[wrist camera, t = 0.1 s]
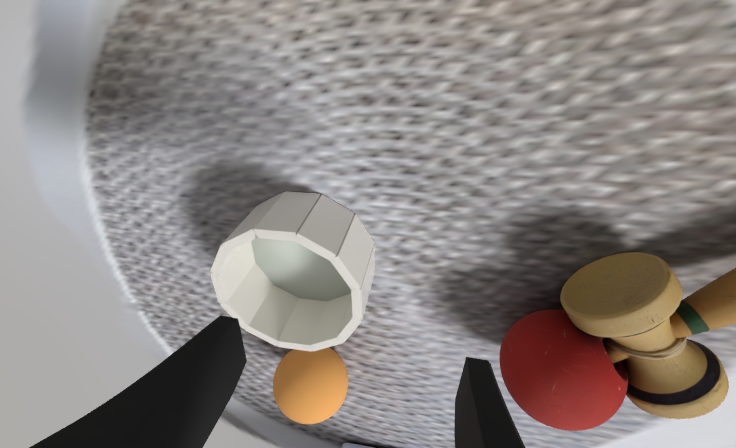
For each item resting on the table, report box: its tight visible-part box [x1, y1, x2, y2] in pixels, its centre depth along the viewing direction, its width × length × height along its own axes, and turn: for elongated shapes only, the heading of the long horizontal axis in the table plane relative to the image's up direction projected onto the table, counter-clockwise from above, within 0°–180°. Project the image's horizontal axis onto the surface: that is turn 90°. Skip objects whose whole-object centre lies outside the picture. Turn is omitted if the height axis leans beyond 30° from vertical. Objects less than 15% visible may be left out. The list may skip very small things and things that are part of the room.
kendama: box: [500, 252, 736, 431], centre depth 18 cm, size 8×6×18 cm
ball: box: [273, 347, 348, 424], centre depth 25 cm, size 5×5×5 cm
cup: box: [210, 191, 375, 352], centre depth 21 cm, size 8×8×4 cm
